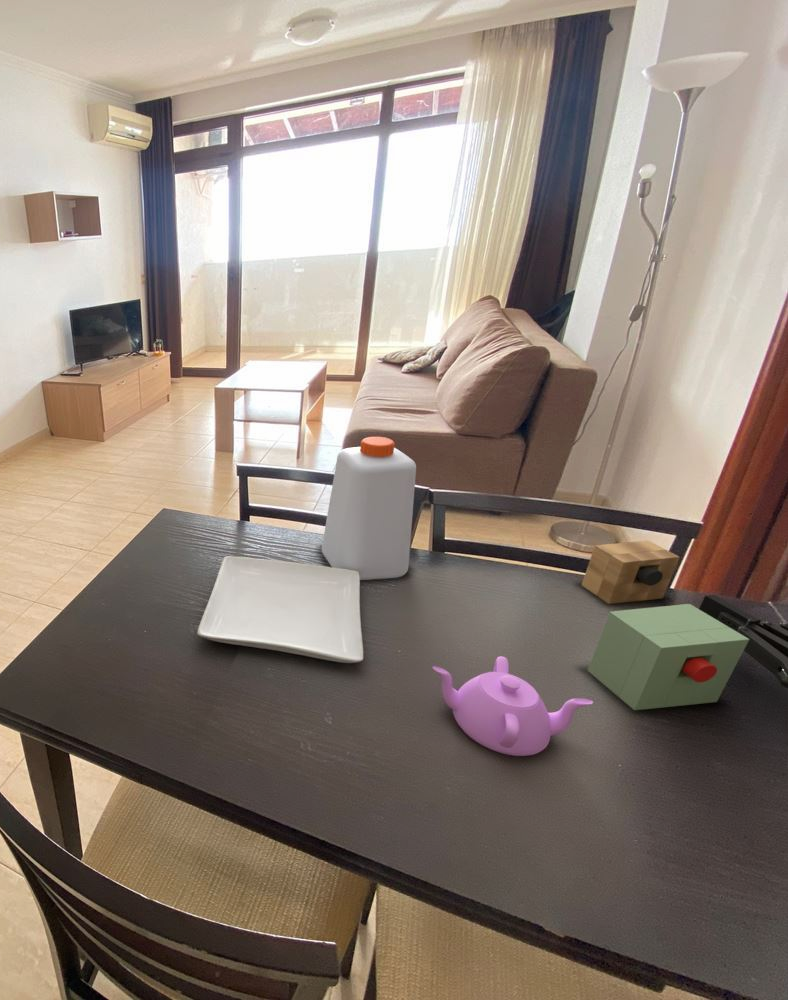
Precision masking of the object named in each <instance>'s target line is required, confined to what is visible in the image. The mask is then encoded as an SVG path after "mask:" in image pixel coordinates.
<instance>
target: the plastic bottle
mask: <svg viewBox="0 0 788 1000" xmlns="http://www.w3.org/2000/svg"><path fill="white" fill-rule="evenodd" d="M395 444H396V443H395V442H394V440H393V439H391V438H388V437H384V436H367V437H365V438H363V439H362V440H361V441H360V446H356V447H355V446H353V447H347V448H343V449H341V450H340V451H339V452H338V454H337V457H336V462H335V469H334V474H333V479H332V487H331V493H330V498H329V503H328V509H327V515H326V521H325V527H324V533H323V538H322V544H321V553H322V555H323V556H324V558H325V559H326V561H327V563H328V564H329V566H330V567H333V568H340V569H348V570H354V571H357V572H358V573H359V576H360V581H370V580H371V581H372V580H385V579H396V578H400V577H403V576H405V575H406V574H407V572H408V571H409V564H410V551H411V541H412V540H411V538H412V526H413V514H414V503H415V501H414V500H415V489H416V488H415V487H416V476H417V464H416V462H415V461H414V460H413V458H411V457H410V456H408V455H406V453H404V452H402V450H401V451H400V450H399V449H398V448H396V447H395V446H396V445H395Z"/></svg>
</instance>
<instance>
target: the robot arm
mask: <svg viewBox="0 0 788 1000" xmlns="http://www.w3.org/2000/svg"><path fill="white" fill-rule="evenodd" d="M703 597H704V598H703V600H702V601H701V604H700V606H699V608H698V609H699V610H701V611H703V612H704V613H706V614H708V615H709V616H711V617H713V618H714V619H716V620H718V621H719V622H721V623H723V624H725V625H726V626H728V627H729V628H731V629H733V630H735V631H736V632H738V633H740V634H741V635H743V636H745V637H747V638H748V639H749V641H748V643H747V645H746V647H745V649H744V651H743V652H745V653H746V654H747V655H749V656H750V657H752V659H754V660H755V661H756V662H757V663H759V664H760V665H761V666H762V667H764V668H765V669H766V670H767V671H768V672H770V673H771V674H772V675H774V676H775V678H776V679H777V681H778V682H779V684H780V685H781V686H783V687H784V688H786V689H788V622H784V621H783V622H780V623H779V624H776V623H775V622H772V621H770V620H763V619H761V618H759V617H757V616H756V615H754V614H752V613H750V612H748V611H746V610H744V609H742V608H741V607H738V606H737V605H735V604H732V603H731V602H730V601H727V600H725V599H723V598H722V597H720V596H719V595H716V594H707V595H704V596H703Z"/></svg>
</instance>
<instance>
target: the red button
mask: <svg viewBox="0 0 788 1000" xmlns="http://www.w3.org/2000/svg"><path fill="white" fill-rule="evenodd" d="M682 670H683V673H684V674H686V675H687V676H689V677H690V678H691V679H693V680H694V681H696V682H705V681H708V680H710V679H711V678H712V677H714V676H715V674H716V672H717V668H716V667H715V666H714V665H712V664H711V663H709V662H708V661H706V660H705V659H703V658H694V659H691V660H690V661H688V662H687V663H686V664H685V665H684V666H683V669H682Z"/></svg>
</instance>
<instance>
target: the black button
mask: <svg viewBox="0 0 788 1000" xmlns="http://www.w3.org/2000/svg"><path fill="white" fill-rule="evenodd" d="M662 577H663V574H662V572H660V571H658V570H657V569H655V568H653V567H645V568H643V569H642V570H640V571H639V573H638V575H637V578H638V580H639V581H641V582H643V583H644V584H646V585H649V586H652V585H655V584H657V583H658V582H660V581H661V579H662Z"/></svg>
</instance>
